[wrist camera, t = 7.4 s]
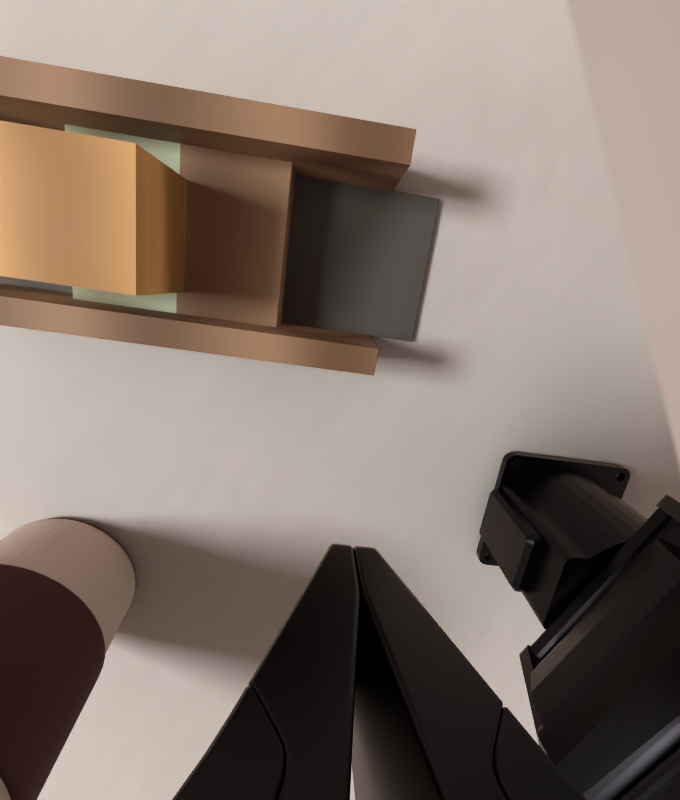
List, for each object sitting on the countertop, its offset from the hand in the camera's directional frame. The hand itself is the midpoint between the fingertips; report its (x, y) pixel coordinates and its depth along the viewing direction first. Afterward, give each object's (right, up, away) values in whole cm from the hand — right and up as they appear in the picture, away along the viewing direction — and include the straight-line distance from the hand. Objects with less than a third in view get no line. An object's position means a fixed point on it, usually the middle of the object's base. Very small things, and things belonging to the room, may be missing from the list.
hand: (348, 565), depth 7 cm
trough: (-6, +10, +9) cm, 15 cm away
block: (-8, +10, +7) cm, 14 cm away
